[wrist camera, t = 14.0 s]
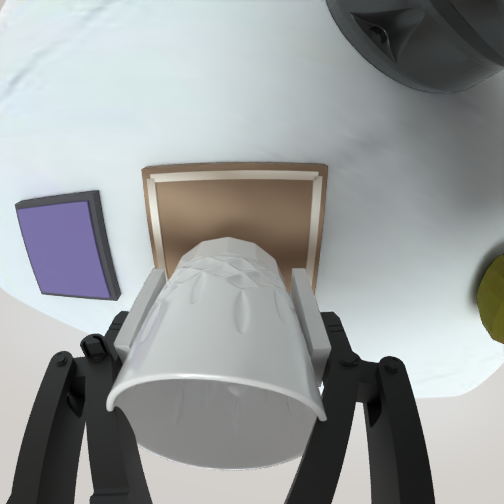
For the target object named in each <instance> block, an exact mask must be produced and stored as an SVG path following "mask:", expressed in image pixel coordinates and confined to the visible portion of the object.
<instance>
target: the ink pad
mask: <svg viewBox="0 0 504 504" xmlns="http://www.w3.org/2000/svg"><path fill="white" fill-rule="evenodd" d="M15 208H16V213H17V217H18V221H19V225H20V229H21V233H22V237H23V240H24V244H25V247H26V250H27V254H28V257H29V260H30V263H31V266H32V269H33V272H34V275H35V278H36V280H37V283H38V286H39V288H40V291H41V293H42V294H45V295H54V296H64V297H75V298H86V299H99V300H113V301H117V300H118V299H119V297H120V295H121V293H120V290H119V286H118V282H117V279H116V275H115V271H114V267H113V263H112V258H111V254H110V250H109V245H108V241H107V236H106V231H105V226H104V220H103V215H102V209H101V203H100V197H99V190H97V191H88V192H79V193H71V194H64V195H56V196H49V197H43V198H36V199H30V200H24V201H20V202H18V203H16V204H15Z"/></svg>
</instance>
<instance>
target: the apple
mask: <svg viewBox="0 0 504 504" xmlns="http://www.w3.org/2000/svg"><path fill="white" fill-rule="evenodd" d="M477 304H478V308H479V313H480V317H481V321H482V324H483V325H484V327H485V328H486V330H487V331H488V333H489V334H490V336H491V338H492V339H493V340H495V341H498V342H500V343H502V344H504V254H502V255H501V256H499V257H497V258H496V259H495V260H494V261H493V263H492V264H491V265H490V266H489V268H488V269H487V271H486V273H485V275H484V277H483V279H482V281H481V284H480V286H479V288H478V293H477Z"/></svg>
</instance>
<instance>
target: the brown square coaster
mask: <svg viewBox="0 0 504 504" xmlns="http://www.w3.org/2000/svg"><path fill="white" fill-rule="evenodd" d="M327 172H328V166H326V165H325V164H312V163H286V162H218V163H193V164H175V165H161V166H149V167H145V168H143V169H142V178H143V188H144V197H145V205H146V213H147V221H148V228H149V235H150V241H151V247H152V253H153V259H154V265H155V269H164V271H165V277H166V282H168V280H169V279H170V278H171V276H172V275H173V273H174V271H175V269H176V267H177V265H178V263H179V261H180V259H181V258H182V256H183V255H185V254H186V253H187V252H189V251H190V250H191V249H193V248H194V247H195V246H197V245H198V244H199V243H201V242H203V241H208V240H213V239H219V238H224V237H232V238H236V239H240V240H244V241H248V242H252V243H255V244H257V245H258V246H259V247H260V248H262V249H263V250H264V251H266V252H267V253H268V254H269V255H271V256H272V257H273V258H274V259H275V260H276V262H277V265H278V267H279V269H280V271H281V274H282V276H283V278H284V281H285V284H286V288H287V291H288V292H289V293H290V289H291V277H292V268H305V270H306V273H307V276H308V279H309V282H310V285H311V288H312V290H313V293H314V294H315V287H316V280H317V273H318V265H319V257H320V248H321V240H322V230H323V220H324V210H325V199H326V186H327Z"/></svg>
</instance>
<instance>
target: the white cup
mask: <svg viewBox="0 0 504 504" xmlns="http://www.w3.org/2000/svg"><path fill="white" fill-rule="evenodd" d="M115 406H117V407H119V408H121V410H122V411H123V412H124V414H125V415H126V417H127V419H128V421H129V423H130V425H131V427H132V429H133V431H134V434H135V437H136V442H137V446H139V447H141V448H142V449H144V450H146V451H148V452H150V453H152V454H154V455H156V456H158V457H161V458H164V459H166V460H169V461H172V462H175V463H179V464H182V465H186V466H191V467H197V468H202V469H210V470H221V471H243V470H253V469H261V468H267V467H272V466H276V465H279V464H283V463H286V462H288V461H291V460H294V459H296V458H298V457H300V456H302V455H303V453H304V451H305V448H306V445H307V442H308V439H309V436H310V434H311V431H312V428H313V425H314V423H315V420H316V417H317V416H318V418H319V420H320V421H326V420H327V417H326V413H325V410H324V406H323V402H322V399H321V395H320V391H319V388H318V384H317V380H316V377H315V373H314V369H313V366H312V362H311V359H310V355H309V351H308V348H307V344H306V341H305V337H304V334H303V332H302V329H301V327H300V323H299V320H298V316H297V313H296V311H295V308H294V304H293V301H292V298H291V296H290V293H289V292H288V291H287V288H286V284H285V281H284V278H283V276H282V274H281V271H280V269H279V267H278V265H277V262H276V260H275V259H274V258H273V257H272V256H271V255H269V254H268V253H267V252H266V251H264V250H263V249H262V248H260V247H259V246H258V245H257V244H255V243H252V242H248V241H244V240H240V239H236V238H232V237H224V238H219V239H213V240H208V241H203V242H201V243H199V244H198V245H197V246H195V247H194V248H193V249H191V250H190V251H189V252H187V253H186V254H185V255H183V256H182V258H181V259H180V261H179V263H178V265H177V267H176V269H175V271H174V273H173V275H172V276H171V278H170V279H169V280H168V282H167V283H166V284H165V285H164V287H163V288H162V290H161V292H160V293H159V295H158V297H157V299H156V300H155V302H154V304H153V305H152V307H151V309H150V311H149V313H148V314H147V316H146V318H145V320H144V322H143V324H142V326H141V328H140V330H139V332H138V334H137V336H136V338H135V340H134V342H133V344H132V346H131V349H130V351H129V353H128V355H127V357H126V359H125V361H124V363H123V365H122V367H121V369H120V372H119V374H118V376H117V378H116V380H115V382H114V384H113V387H112V389H111V391H110V393H109V395H108V398H107V402H106V408H107V410H108V411H113V409H114V407H115Z"/></svg>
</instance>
